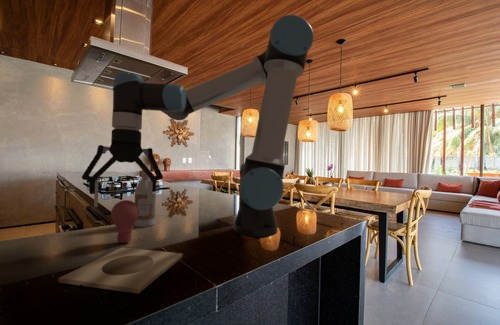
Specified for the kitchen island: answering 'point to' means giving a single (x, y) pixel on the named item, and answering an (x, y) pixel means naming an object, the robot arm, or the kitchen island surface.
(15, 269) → the kitchen island surface
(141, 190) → the bath foam
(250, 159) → the robot arm
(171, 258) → the seat board
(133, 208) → the dark red bulb shape
